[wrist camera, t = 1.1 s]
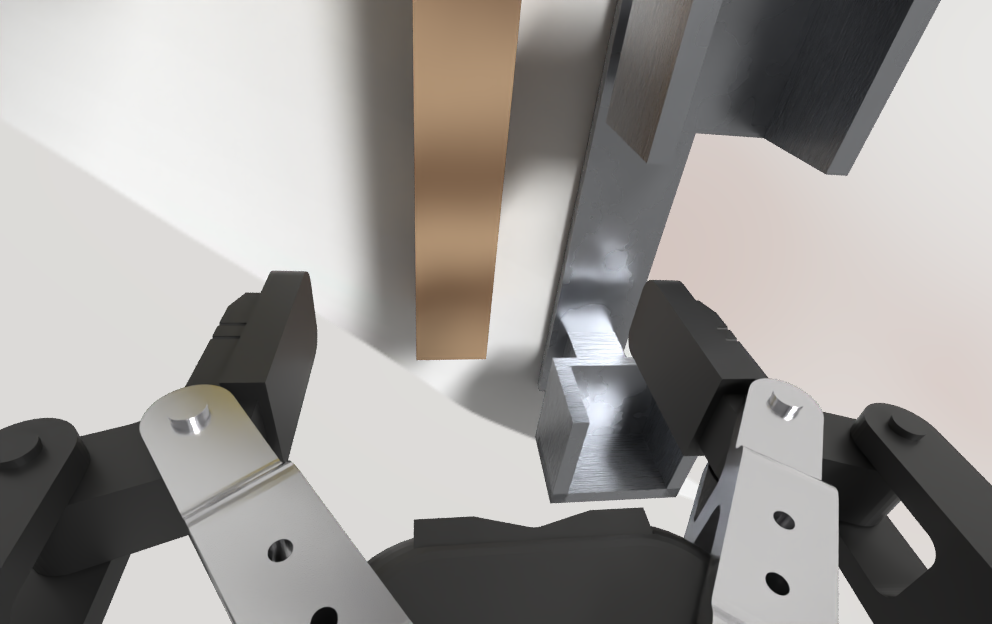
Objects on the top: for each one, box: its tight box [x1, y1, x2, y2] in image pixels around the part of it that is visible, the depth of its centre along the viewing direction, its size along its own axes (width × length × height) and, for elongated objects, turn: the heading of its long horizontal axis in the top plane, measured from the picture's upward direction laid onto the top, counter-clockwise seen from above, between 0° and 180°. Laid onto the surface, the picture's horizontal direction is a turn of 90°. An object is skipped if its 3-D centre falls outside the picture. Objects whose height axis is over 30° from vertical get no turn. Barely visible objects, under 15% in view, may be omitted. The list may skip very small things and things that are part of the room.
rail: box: [413, 0, 521, 360], centre depth 21 cm, size 20×4×5 cm, turn 175°
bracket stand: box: [535, 0, 941, 503], centre depth 23 cm, size 25×7×9 cm, turn 174°
